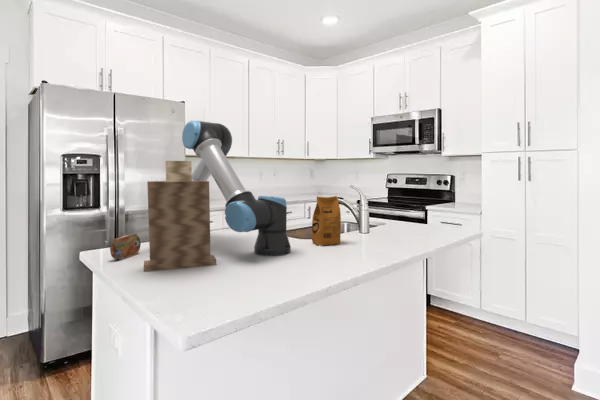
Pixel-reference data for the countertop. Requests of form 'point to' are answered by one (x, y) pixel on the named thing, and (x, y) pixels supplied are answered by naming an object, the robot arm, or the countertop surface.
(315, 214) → the coffee package
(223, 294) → the countertop surface
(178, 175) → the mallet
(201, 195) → the stand
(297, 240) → the countertop surface
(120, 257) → the tin
